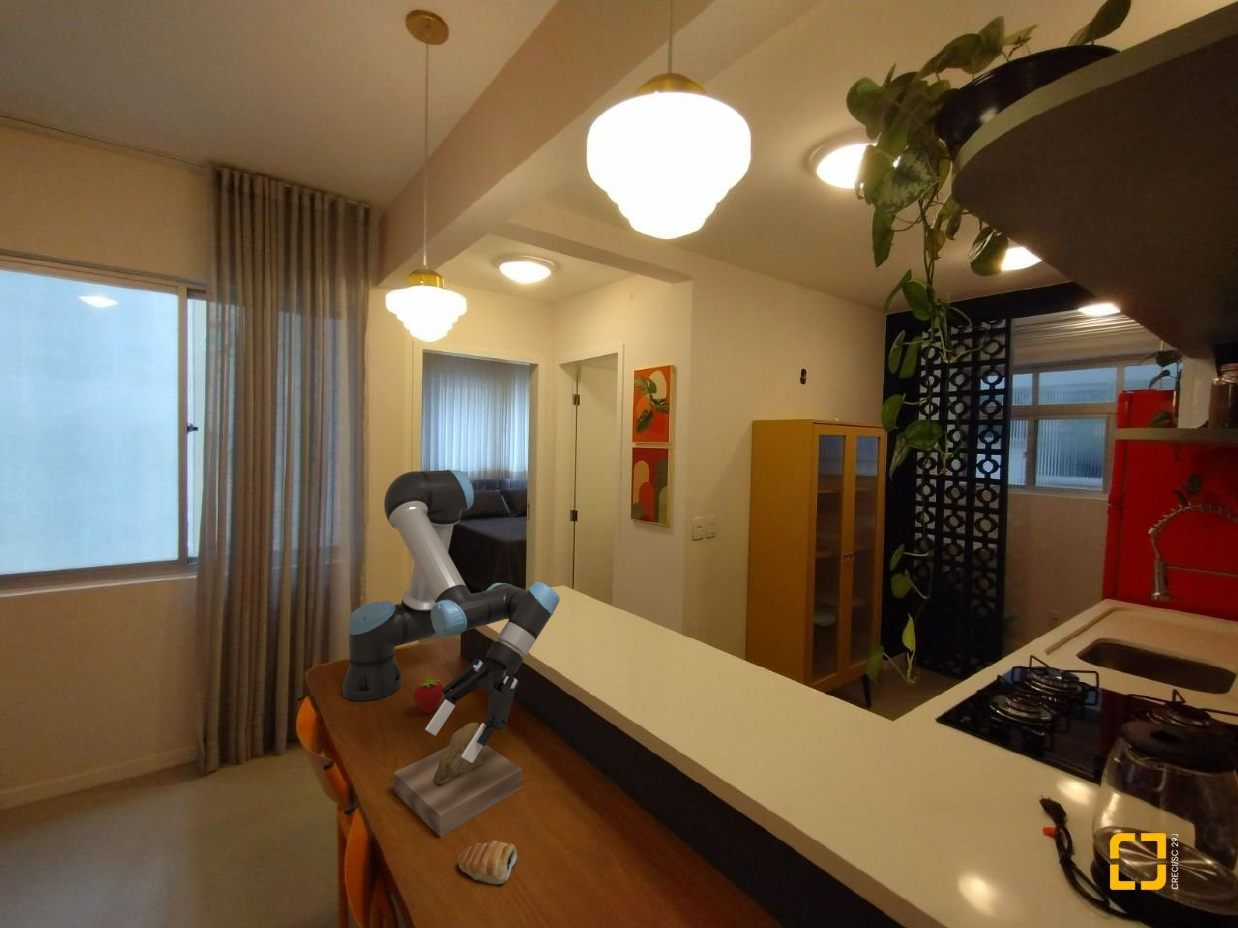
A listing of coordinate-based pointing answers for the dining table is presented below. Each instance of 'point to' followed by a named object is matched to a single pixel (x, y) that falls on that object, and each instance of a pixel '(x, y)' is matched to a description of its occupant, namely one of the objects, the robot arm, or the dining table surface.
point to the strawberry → (428, 695)
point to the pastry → (488, 861)
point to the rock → (457, 755)
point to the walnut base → (456, 789)
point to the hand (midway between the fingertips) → (447, 745)
